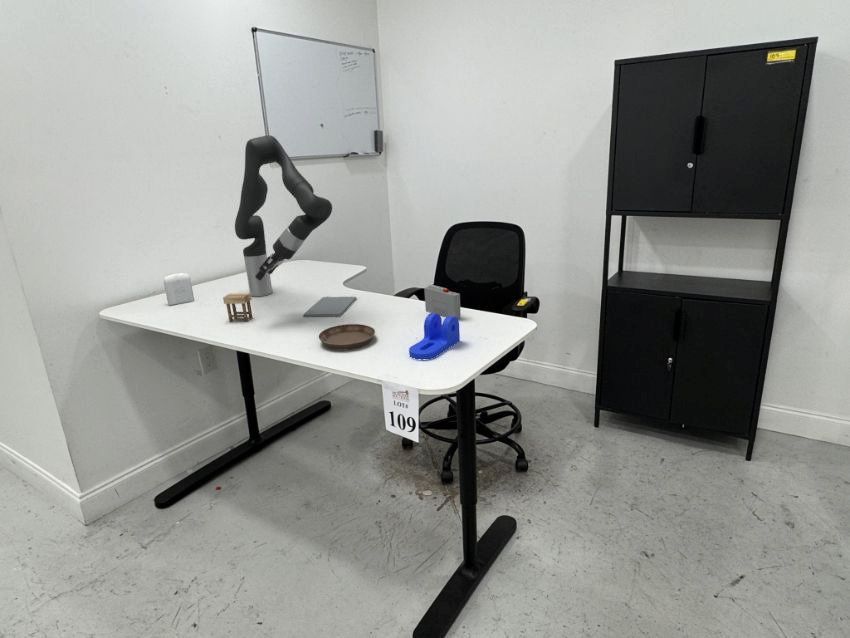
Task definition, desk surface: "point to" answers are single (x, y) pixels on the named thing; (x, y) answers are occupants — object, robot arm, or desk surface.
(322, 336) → the plant saucer
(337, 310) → the grey mat
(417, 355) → the bracket
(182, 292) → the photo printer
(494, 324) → the desk surface
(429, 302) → the cassette player
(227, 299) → the oak stool
